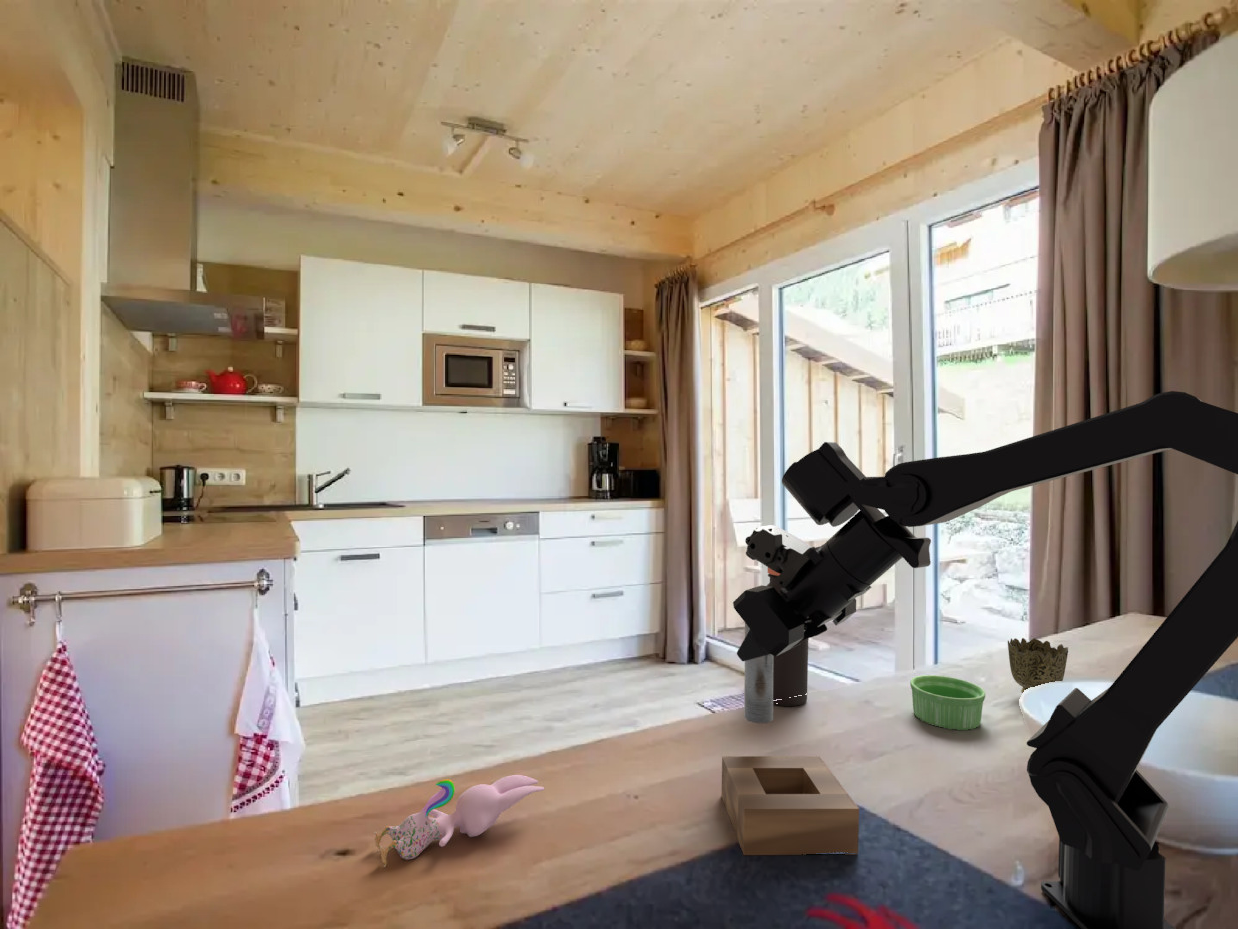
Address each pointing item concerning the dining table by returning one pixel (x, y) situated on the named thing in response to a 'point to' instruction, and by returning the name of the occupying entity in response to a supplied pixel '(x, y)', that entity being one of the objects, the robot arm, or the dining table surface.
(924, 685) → the ramekin
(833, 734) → the dining table surface
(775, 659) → the bottle
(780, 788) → the walnut square frame
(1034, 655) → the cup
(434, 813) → the rabbit figure
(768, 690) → the steel rod
